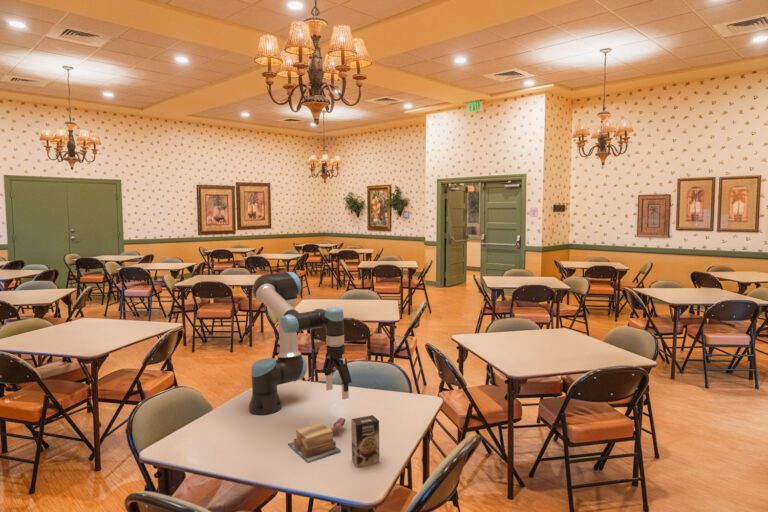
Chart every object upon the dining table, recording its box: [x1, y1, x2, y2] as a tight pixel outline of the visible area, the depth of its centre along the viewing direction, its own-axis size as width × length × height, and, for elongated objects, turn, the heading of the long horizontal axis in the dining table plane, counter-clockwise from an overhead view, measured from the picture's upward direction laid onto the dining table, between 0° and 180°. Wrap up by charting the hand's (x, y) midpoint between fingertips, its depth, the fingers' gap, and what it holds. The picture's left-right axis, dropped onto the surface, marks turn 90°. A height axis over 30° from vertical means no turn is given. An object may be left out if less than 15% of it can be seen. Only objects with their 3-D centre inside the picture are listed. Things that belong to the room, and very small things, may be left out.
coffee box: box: [350, 414, 381, 468], centre depth 183 cm, size 9×6×16 cm
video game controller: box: [330, 417, 347, 437], centre depth 209 cm, size 10×5×7 cm, turn 169°
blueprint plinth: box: [287, 422, 341, 464], centre depth 194 cm, size 18×14×8 cm
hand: (337, 394), depth 207 cm, fingers open, 13 cm apart
